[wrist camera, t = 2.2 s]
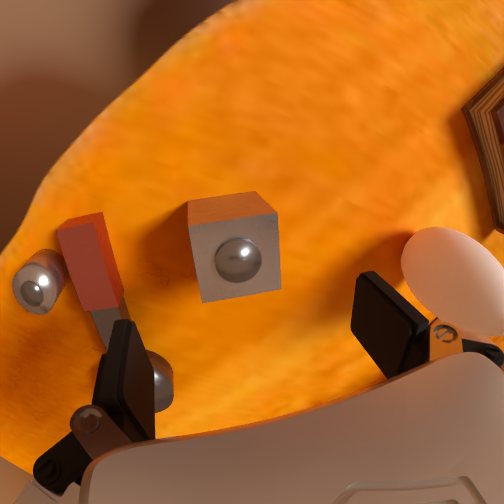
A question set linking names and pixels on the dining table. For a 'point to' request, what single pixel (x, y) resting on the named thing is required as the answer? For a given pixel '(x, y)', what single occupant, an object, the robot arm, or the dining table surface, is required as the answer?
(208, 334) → the dining table surface
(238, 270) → the socket
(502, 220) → the diary
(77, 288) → the ratchet
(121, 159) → the dining table surface
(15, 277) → the socket
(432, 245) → the white air blower bulb
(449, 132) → the dining table surface
